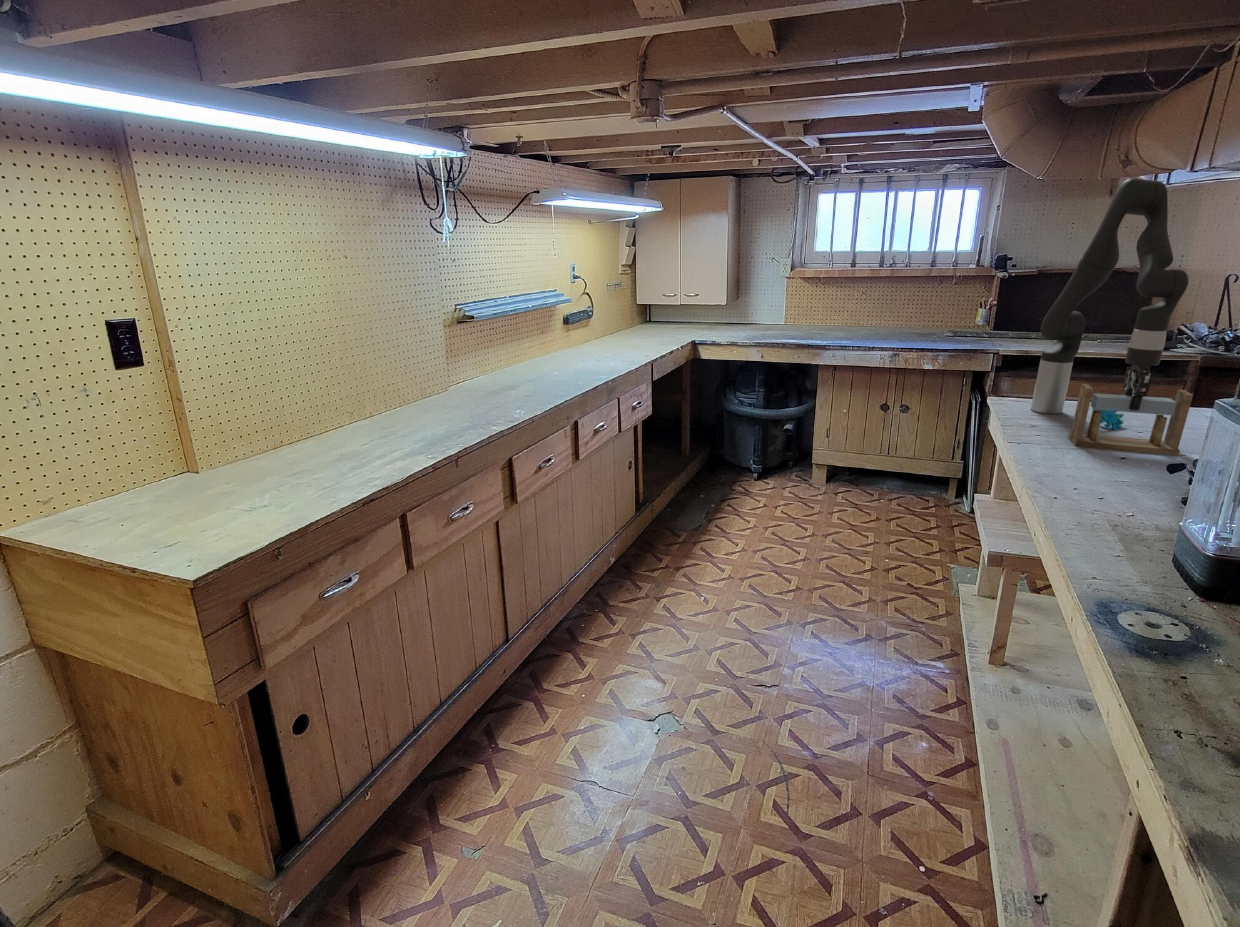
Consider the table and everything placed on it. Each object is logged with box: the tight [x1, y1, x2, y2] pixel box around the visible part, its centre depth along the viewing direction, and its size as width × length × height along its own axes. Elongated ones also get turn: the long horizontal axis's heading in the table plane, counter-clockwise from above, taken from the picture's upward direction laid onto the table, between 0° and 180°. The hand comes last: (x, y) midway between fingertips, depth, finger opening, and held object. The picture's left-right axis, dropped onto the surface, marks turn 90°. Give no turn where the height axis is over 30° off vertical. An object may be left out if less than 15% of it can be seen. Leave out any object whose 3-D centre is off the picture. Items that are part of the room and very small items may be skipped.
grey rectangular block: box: [1089, 392, 1177, 416], centre depth 185 cm, size 18×5×4 cm, turn 68°
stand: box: [1068, 383, 1194, 456], centre depth 186 cm, size 9×24×16 cm, turn 68°
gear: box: [1092, 408, 1125, 431], centre depth 208 cm, size 11×6×10 cm
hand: (1130, 407), depth 185 cm, fingers closed on grey rectangular block, 5 cm apart
